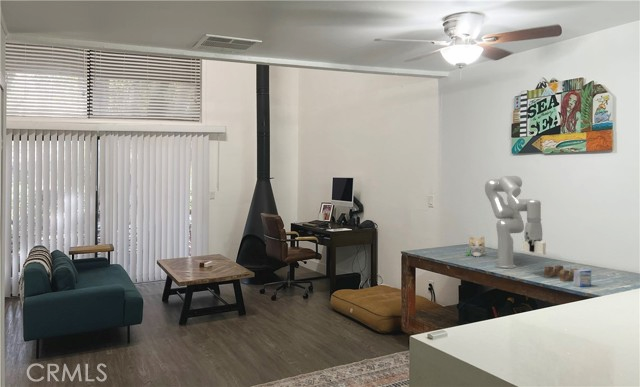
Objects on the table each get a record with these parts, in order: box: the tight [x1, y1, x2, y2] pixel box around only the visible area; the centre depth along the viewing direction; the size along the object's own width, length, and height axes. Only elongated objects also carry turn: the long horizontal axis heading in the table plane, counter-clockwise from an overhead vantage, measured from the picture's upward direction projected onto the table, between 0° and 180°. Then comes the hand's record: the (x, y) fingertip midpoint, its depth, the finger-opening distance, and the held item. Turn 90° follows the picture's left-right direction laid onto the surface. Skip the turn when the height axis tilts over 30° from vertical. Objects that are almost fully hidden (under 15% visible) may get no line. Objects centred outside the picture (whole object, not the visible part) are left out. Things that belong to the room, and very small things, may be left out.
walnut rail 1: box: [544, 264, 564, 278], centre depth 281 cm, size 12×2×6 cm, turn 111°
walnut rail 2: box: [559, 268, 580, 282], centre depth 270 cm, size 12×2×6 cm, turn 111°
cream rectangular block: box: [521, 238, 547, 256], centre depth 281 cm, size 16×2×7 cm, turn 20°
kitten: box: [465, 235, 487, 258], centre depth 351 cm, size 15×10×15 cm
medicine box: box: [573, 268, 592, 288], centre depth 257 cm, size 8×4×9 cm, turn 105°
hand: (533, 251), depth 281 cm, fingers closed on cream rectangular block, 2 cm apart
